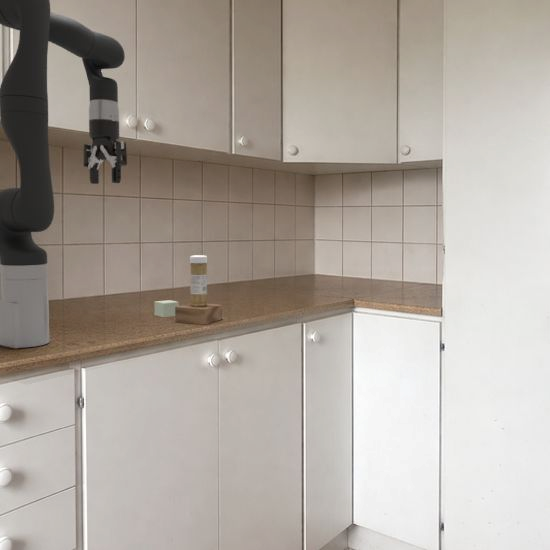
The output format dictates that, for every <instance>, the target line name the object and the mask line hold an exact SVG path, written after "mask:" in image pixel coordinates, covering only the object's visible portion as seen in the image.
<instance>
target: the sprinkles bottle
mask: <svg viewBox="0 0 550 550" xmlns="http://www.w3.org/2000/svg"><path fill="white" fill-rule="evenodd" d="M189 263H190V276H189V277H190V279H189V280H190V281H189V282H190V283H189V284H190V286H189V287H190V288H189V289H190V303H189V304H190V305H191V306H195V307H203V306H206V305H207V304H208V301H207V297H208V296H207V294H208V274H207V272H208V271H207V270H208V269H207V268H208V267H207V265H208V256H207V255H205V254H204V255H201V254H195V255H190V257H189Z"/></svg>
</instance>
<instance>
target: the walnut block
mask: <svg viewBox="0 0 550 550" xmlns="http://www.w3.org/2000/svg"><path fill="white" fill-rule="evenodd" d="M174 317H175V318H174V319H175V320H174V321H175V323H184V324H192V325H193V324H194V325H203V326H204V325H208V324H212V323H216V322H218V320H219V321H221V319H222V320H223V304H216V303H207V305H206V306H203V307H195V306H191V305H190V303H186V304H182V305H179V306H177V307H175V316H174Z"/></svg>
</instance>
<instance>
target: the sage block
mask: <svg viewBox="0 0 550 550" xmlns="http://www.w3.org/2000/svg"><path fill="white" fill-rule="evenodd" d="M153 304H154V316H155V317H160V318H170V317H175V307H177V306H180V302H179V301H176V300H171V299H169V300H158V301H157V300H156V301H154V303H153Z"/></svg>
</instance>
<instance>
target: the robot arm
mask: <svg viewBox="0 0 550 550" xmlns="http://www.w3.org/2000/svg"><path fill="white" fill-rule="evenodd" d="M0 25H1V26H3V27H7V28H8V29H9V28H10V29H13V30H15V31H16V30H17V31H19V36H18V37H19V39H18V46H17V49H16V51H15V52H16V53H15V54H14V56H13V58H12V60H11V62H10V65H9V66H8V68H7V70H6V72H5V75H4V76H3V78H2V80H1V84H0V123H1V127H2V130H3V132H4V134H5V136H6V138H7V141H8V142H9V144H10V146H11V147H12V150H13V151H14V153H15V155H16V159H17V161H18V166H19V176H20V177H19V178H20V183H19V184H20V186H19V187H10V188H4V189H2V190H0V293H1V299H0V346H2V347H6V348H11V349H20V348H31V347H32V348H34V347H39V346H43V345H47V344H49V343H50V316H49V315H50V312H49V283H48V282H49V279H48V277H49V276H48V275H49V274H48V272H49V271H48V252H47V251H46V250H45V249H44V248H42V247H40V246H39V245H38V244H36V243H35V242H34V240H33V237H32V236H33V235H32V233H39V232H45V230H48V228H50V226H51V225H52V222H53V220H54V215H55V200H54V199H55V197H54V191H53V183H52V182H53V181H52V174H51V164H50V151H49V150H50V149H49V148H50V146H49V97H48V94H49V93H48V50H49V42H50V43H52V44H54V45H56V46H58V47H60V48H62V49H64V50H66V51H67V52H69V53H70V54H72V55H74V56H77V58H78V57H79V58H81V59H82V64H83V67H84V71H85V74H86V78H87V81H88V85H89V103H88V104H89V107H88V130H89V132H88V133H89V134H88V136H89V138H90V139H91V140H92V143H91V144H88V143H84V144H83V167H85V168H87V169H88V170H89V182H90V184H94V185H98V184H99V183H100V180H99V179H100V176H99V174H100V173H99V172H100V171H99V167H100V165H101V164H102V163H103V162H104V161H107V162H109V164H110V165H111V167H112V168H111V182H112V184H120V183H121V180H122V170H121V169H122V168H123V167H124V166H127V164H128V157H127V156H128V155H127V143H126V141H121V140H119V139H120V108H119V101H118V100H119V98H118V97H119V96H118V95H119V93H118V88H119V87H118V82H117V81H116V80H115V79H114V78H111V77H106V76H104V75H103V73H102V72H101V71H102V70H110V69H111V70H112V69H117V68H119V67H121V66H122V65H123V63H124V61H125V57H126V56H125V49H124V48H123V46H122V45H121V43H120V42H119V41H118V40H117V39H116V38H113V37H112V36H109V35H106V34H103V33H101V32H96V31H94V30H91V29H90V28H89V27H87V26H86V25H84V24H82V23H80V22H79V21H77V20H75V19H74V18H70V17H67V16H65V15H62V14H59V13H55V12H52V11H51V1H50V0H0Z"/></svg>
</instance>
